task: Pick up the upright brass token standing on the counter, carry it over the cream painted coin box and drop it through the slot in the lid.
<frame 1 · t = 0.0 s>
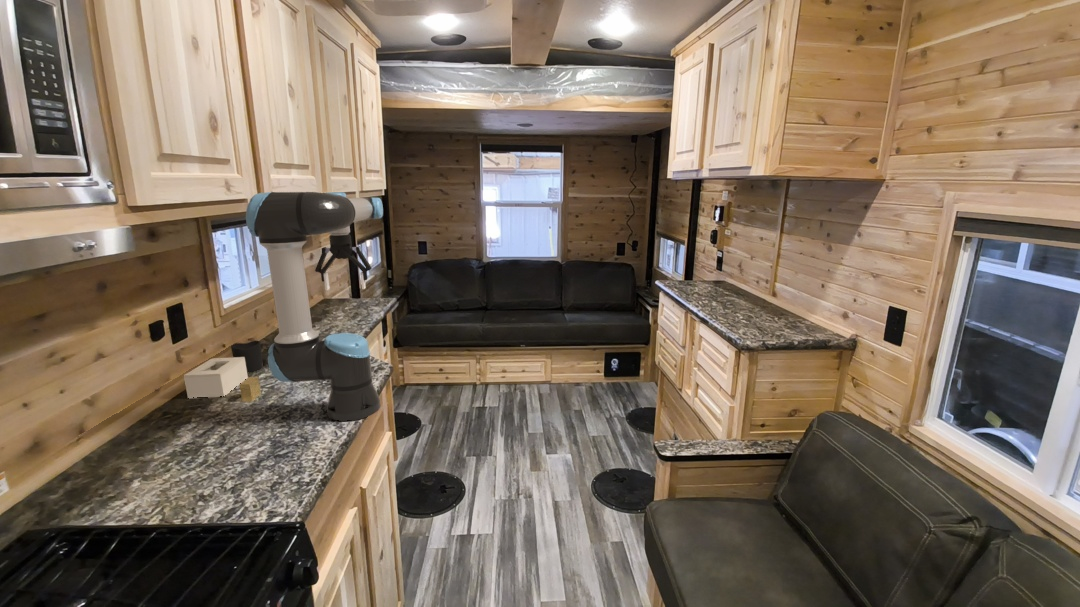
hand: (345, 289, 183), 28 cm above the countertop, tool pointing down, fingers open, 13 cm apart
coin box: (219, 387, 162), on the countertop
token: (251, 397, 154), on the countertop
pen holder: (250, 370, 178), on the countertop
sauce bottle: (294, 365, 183), on the countertop
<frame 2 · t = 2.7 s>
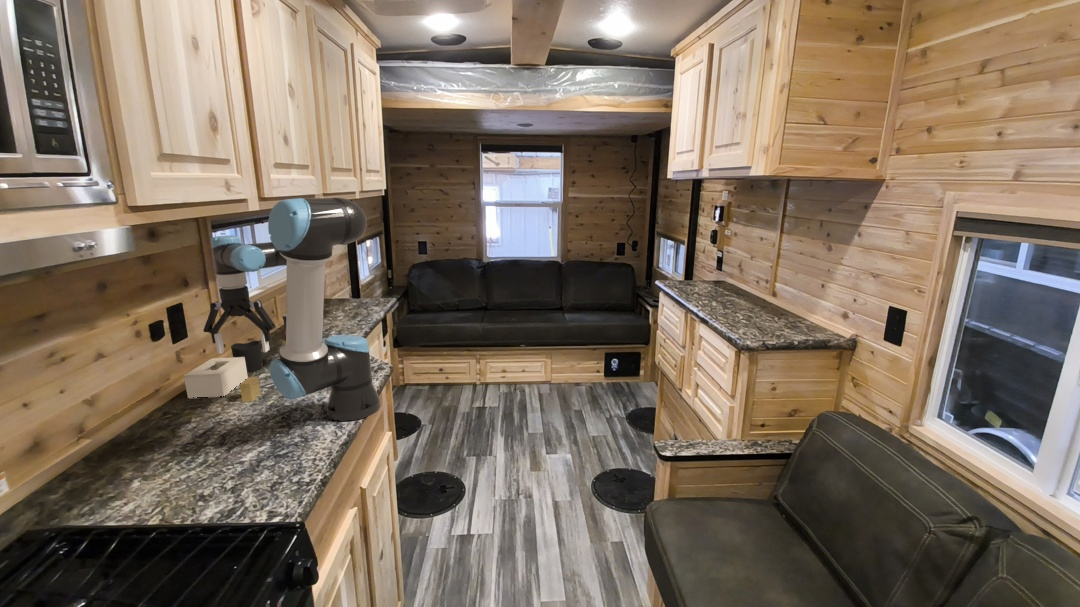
hand: (243, 352, 150), 16 cm above the countertop, tool pointing down, fingers open, 13 cm apart
nothing on the countertop moved.
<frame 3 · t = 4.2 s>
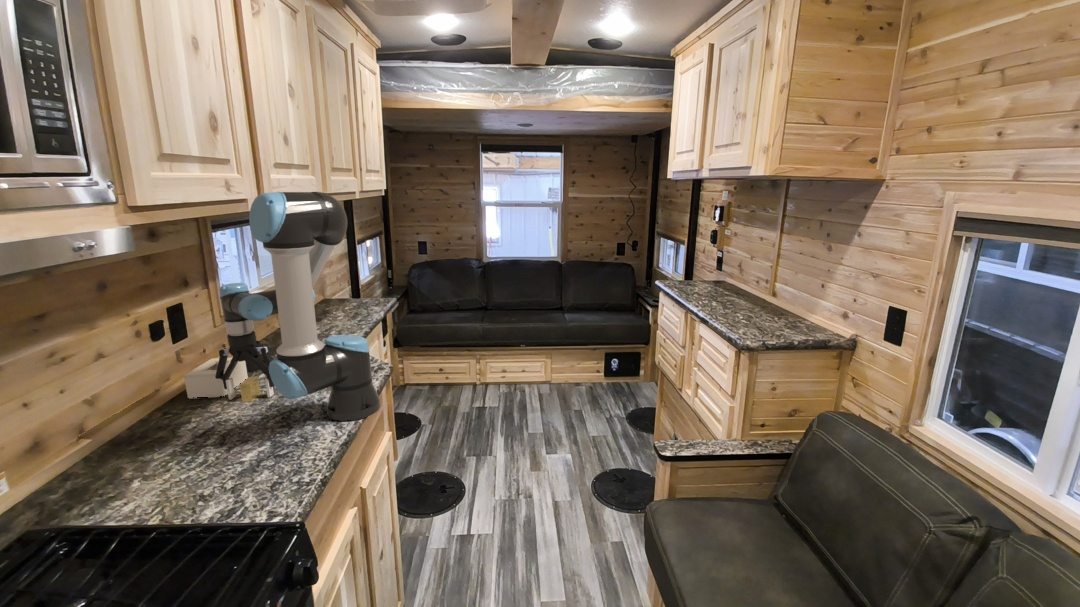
hand: (251, 396, 154), 0 cm above the countertop, tool pointing down, fingers open, 11 cm apart
nothing on the countertop moved.
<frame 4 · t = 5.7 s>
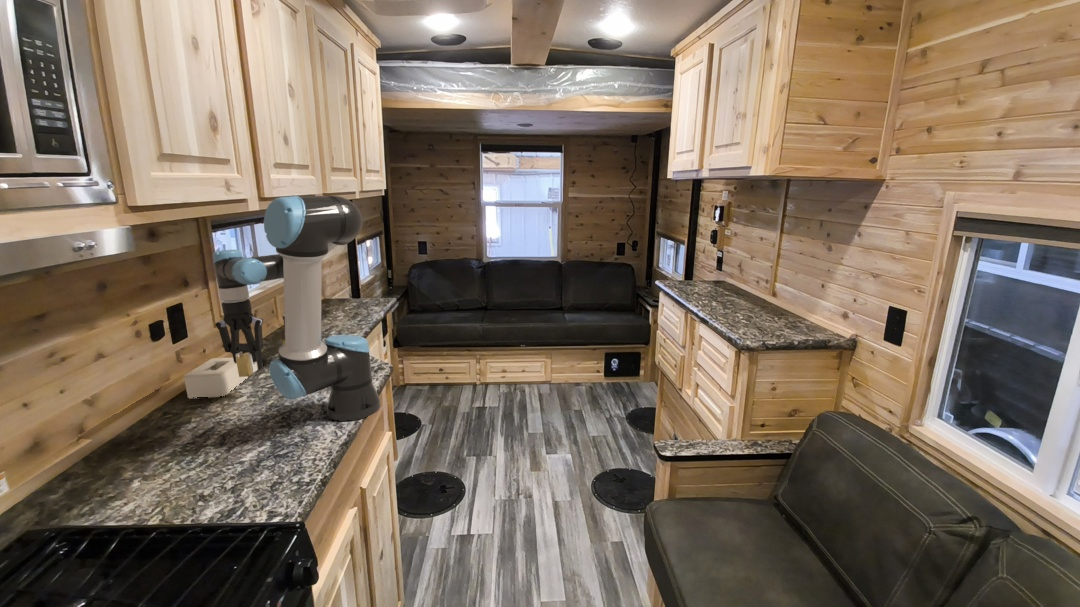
hand: (248, 371, 151), 9 cm above the countertop, tool pointing down, fingers closed on token, 3 cm apart
token: (248, 373, 151), point 9 cm above the countertop, touching gripper
everything else where it was.
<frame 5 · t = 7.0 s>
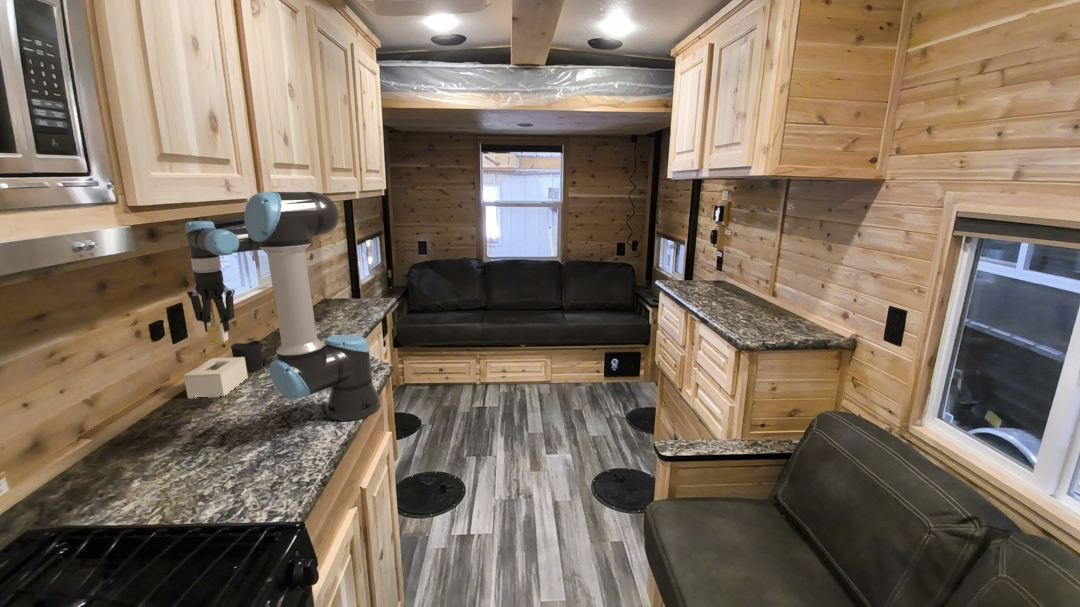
hand: (219, 340, 156), 18 cm above the countertop, tool pointing down, fingers closed on token, 3 cm apart
token: (220, 341, 156), point 17 cm above the countertop, touching gripper
everything else where it was.
when the fingers open (10 cm above the countertop, at t = 8.5 s): token drops 9 cm, resting on coin box.
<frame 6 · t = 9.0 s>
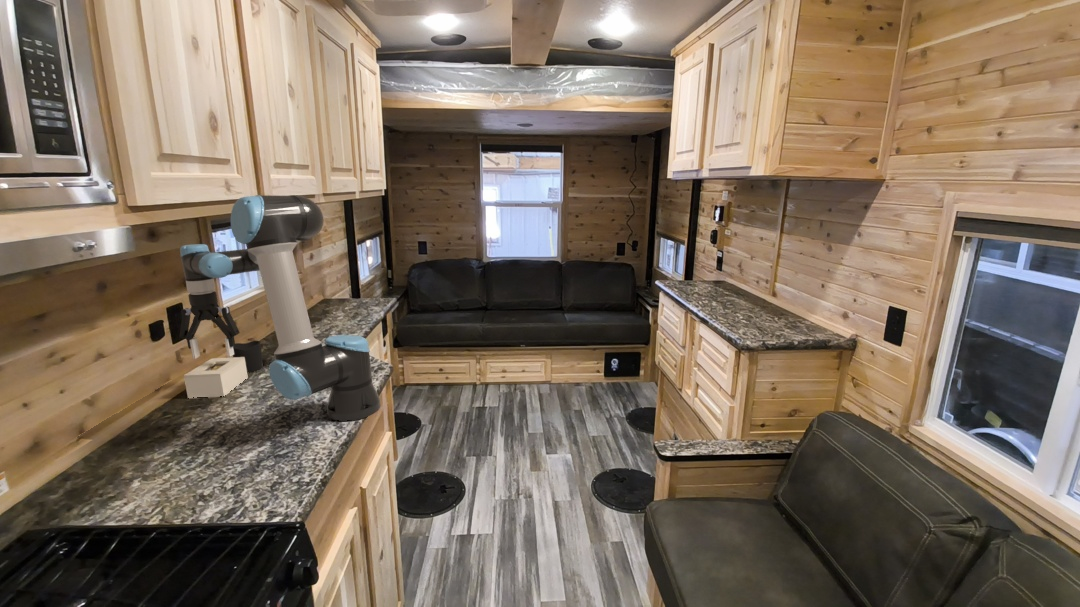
hand: (213, 356, 159), 11 cm above the countertop, tool pointing down, fingers open, 10 cm apart
token: (219, 385, 162), point 1 cm above the countertop, touching coin box
everything else where it was.
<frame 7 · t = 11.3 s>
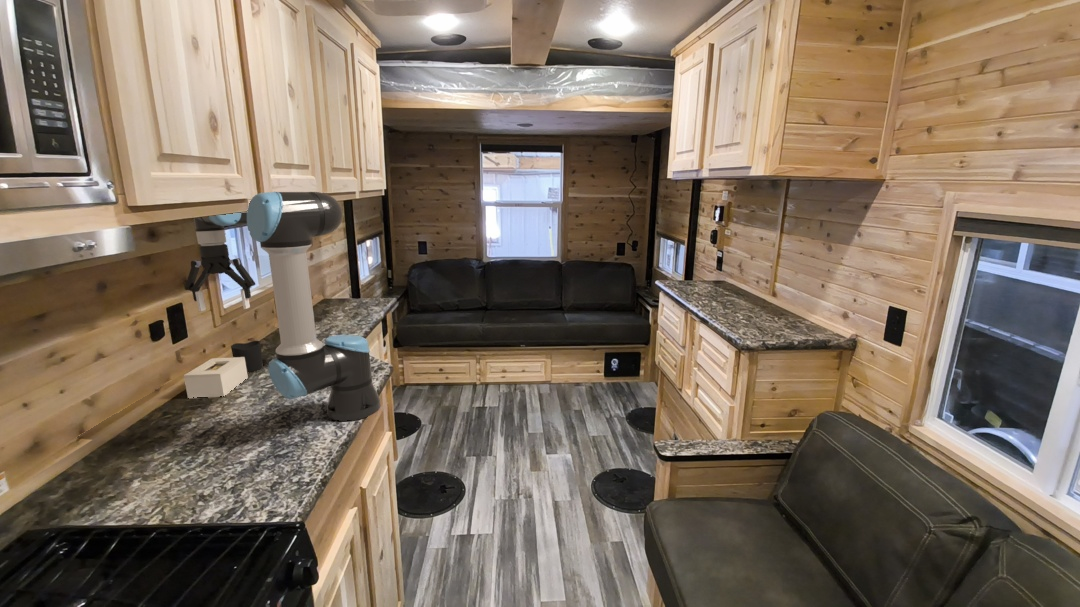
hand: (224, 309, 154), 28 cm above the countertop, tool pointing down, fingers open, 13 cm apart
nothing on the countertop moved.
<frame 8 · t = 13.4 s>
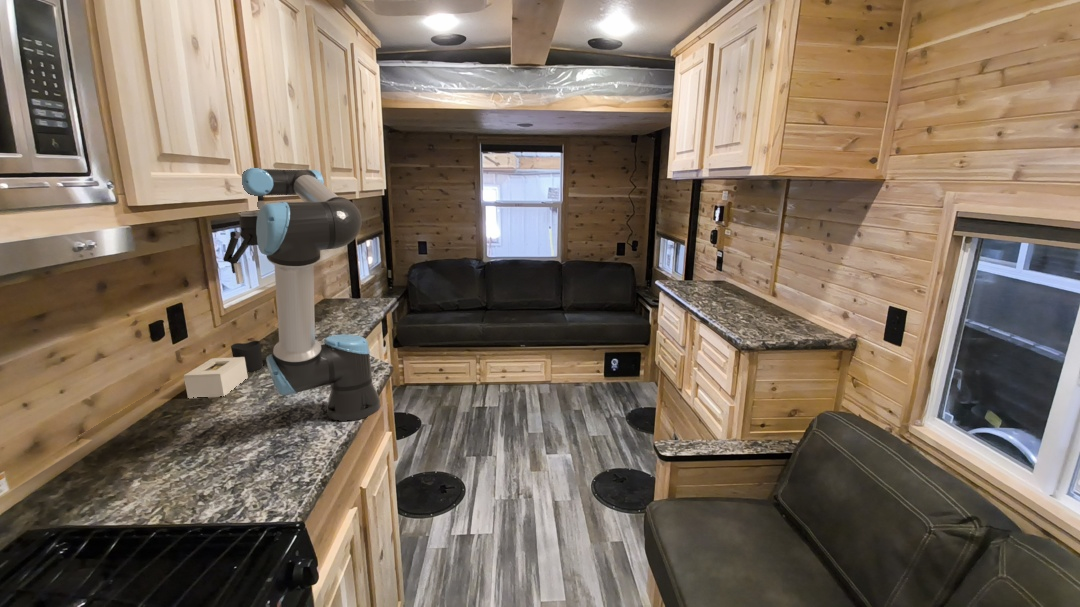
hand: (262, 282, 152), 37 cm above the countertop, tool pointing down, fingers open, 13 cm apart
nothing on the countertop moved.
at the end: token inside the target area on the coin box (0.2 cm from its centre), point 0.8 cm above the coin box's base; the gripper is holding nothing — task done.
